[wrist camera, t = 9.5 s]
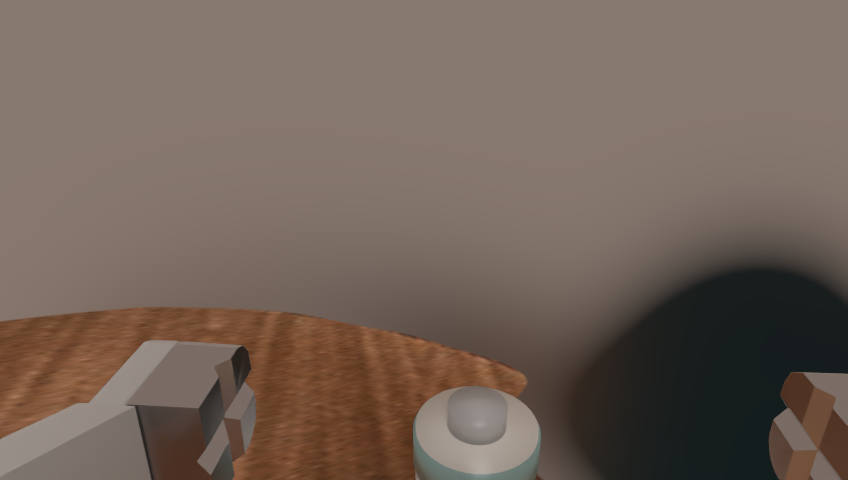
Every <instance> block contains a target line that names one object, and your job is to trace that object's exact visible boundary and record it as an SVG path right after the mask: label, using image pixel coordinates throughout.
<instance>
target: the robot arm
mask: <svg viewBox="0 0 848 480" xmlns="http://www.w3.org/2000/svg"><path fill="white" fill-rule="evenodd" d="M250 370H251V364H250V359H249V353H248V350H247V349H246V348H245V347H244V346H243V345H229V344H214V343H199V342H185V341H183V342H180V341H167V340H150V341H146V342H144V343H143V344H142V345H141V346H140V347H139V348H138V349H137V350H136V351H135V353H134V354H133V355H132V356H131V357H130V358H129V359H128V360H127V361H126V362H125V364H124V365H123V366H122V367H121V368H120V369H119V370H118V371H117V372H116V373H115V375H114V376H113V377H112V378H111V379H110V380H109V381H108V382H107V383H106V384H105V386H104V387H103V388H102V389H101V390H100V391H99V392H98V393H97V394H96V395H95V397H94V398H93V399H92V400H91V401H90V402H89V403H77V404H75V405H73V406H70V407H68V408H66V409H64V410H62V411H60V412H57V413H55V414H53V415H51V416H49V417H47V418H45V419H42V420H40V421H38V422H36V423H34V424H32V425H29V426H27V427H25V428H23V429H21V430H19V431H17V432H14V433H12V434H10V435H8V436H6V437H4V438H1V439H0V480H232V479H233V477H234V470H233V463H232V462H233V461H235V460H236V459H237V458H239V457H240V456H242V455H243V454H245V452H246V450H247V448H248V446H249V443H250V441H251V439H252V434H253V430H254V425H255V420H256V402H255V394H254V392H253V391H252V389H251V388H250V387H249V386H248V385H247V384H246V383H245V382H244V381H245V379H246V378H247V376H248V374H249V372H250ZM781 397H782V399H783V400H784V402H785V404H786V406H787V407H788V408H787V409H786V410H785V411H783V412H782V413H781V414H780V415H779V416H777V417H776V418H775V419H774V420H773V423H772V427H771V432H770V435H769V448H770V458H771V461H772V464H773V467H774V470H775V472H776V474H777V476H778V477H779V479H780V480H848V374H831V373H800V372H792V373H791V374H790V375H789V377H788V378H787V379H786V380H785V383H784V386H783V389H782V392H781Z"/></svg>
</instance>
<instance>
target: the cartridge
mask: <svg viewBox="0 0 848 480" xmlns="http://www.w3.org/2000/svg"><path fill="white" fill-rule="evenodd" d="M540 441H541V431H540V427H539V424H538V422H537V420H536V418H535V416H534V415H533V413H532V412H531V410H530V409H529V408H528V407H527V406H526V405H525V404H523V403H522V402H521V401H520V400H518V399H517V398H515V397H513V396H511V395H509V394H507V393H505V392H502V391H499V390H496V389H492V388H487V387H481V386H467V387H458V388H453V389H449V390H446V391H443V392H441V393H439V394H437V395H435V396H433V397H432V398H430V399H429V400H428V401H427V402H426V403H425V404H424V405H423V406H422V407H421V409H420V410H419V412H418V413H417V415H416V417H415V420H414V424H413V463H414V468H415V471H416V480H535V478H536V476H537V471H538V462H539V452H540Z"/></svg>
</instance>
